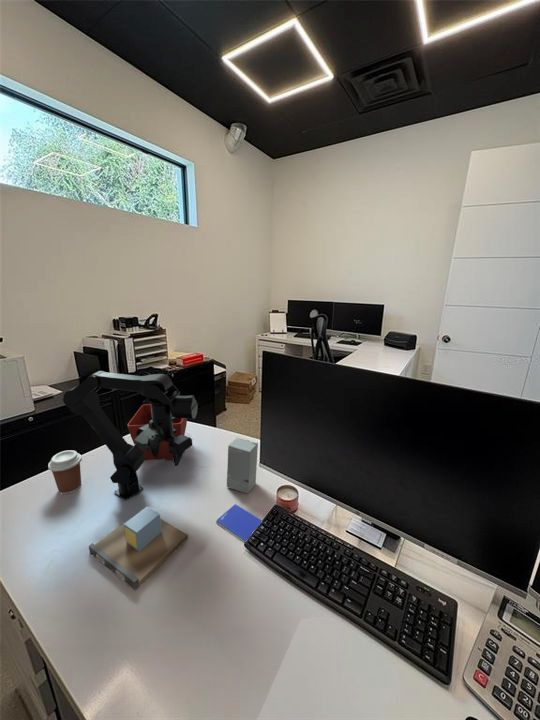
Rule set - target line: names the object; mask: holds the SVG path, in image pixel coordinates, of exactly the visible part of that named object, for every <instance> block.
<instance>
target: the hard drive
mask: <svg viewBox="0 0 540 720" xmlns="http://www.w3.org/2000/svg"><path fill="white" fill-rule="evenodd" d="M261 521H263V520H262V519H261V518H258V516H255V515H254V513H253V514H252V513H251V512H249V511H248V510H246V509H244V508H243V507H241V506H240V505H238V504H236V503H234V504H233V505H232V506H231V507H230V508H229V509H227V510H226V511H225V512H224V513H223V514H222V515H221V516H220V517H218V518H217V519H216V521H215V522H216V524H217V525H219V526H221V528H223V530H224V529H225V530H226V531H227V532H228V533H230V534H231V535H234V536H235V537H236V538H237V539H238V540H240V539H241V540H240V541H242V542H243V543H244V542H245V541H246V540H247V539H248V538H249V537H250V535H251V534H252V532H253V531H254V530H255V529H256V528H257V527H258V526H259V524H260V523H261Z"/></svg>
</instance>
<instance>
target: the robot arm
mask: <svg viewBox="0 0 540 720" xmlns="http://www.w3.org/2000/svg"><path fill="white" fill-rule="evenodd" d="M101 388H103V389H112V390H119V391H128V392H136V393H139V394H140V395H142V396H143V397H146V398H145V400H143V401H142V405H144V404H151V413H152V420H150V421H149V424H147V425H145V426H143V427H140V428H139V429H138V430H137V437H136V438H135V441H136V443H137V444H135V445H134V444H133V445H132V444H130V443H128V442H127V440H126V439H125V438H124V437H123V436H122V434H121V433H120V432H119V430H118V429H117V427H115V425H114V423H113V422H112V421H111V420H110V418H109V416H108V415H107V414H106V413H105V412H104V410H103V408H102V407H101V406H100V405H101V403H100V396H99V395H98V393H97V392H98V391H99V390H100V389H101ZM167 393H169V394H167ZM166 394H167V395H166ZM180 394H181V391H180V390H179V389H178V387H176V386H175V385H174V383H173V381H172V379H171V377H169V375H168V374H164V373H156V374H155V373H154V374H147V375H142V376H141V375H133V374H125V373H116V372H115V373H114V372H108V371H107V372H106V371H104V370H98V371H96V372H94V373H92V374H90V375H89V376H88V377H87V378H85V380H83V381H82V382H81V383H80V384H79V385H76V386H75V387H73V388H71V389H69V390H66V392H65V393H64V394H63V398H62V402H63V404H64V405H65V406H66V407H67V408H68V409H69V410H70V411H71V412H73V413H74V414H76V415H78V416H81V417H83V418H84V419H85V420H86V421H87V423H88V424H89V425H90V427H91V428H92V429H93V430H94V432H95V433H96V435H98V437H99V439H100V440H101V441H102V442H103V444H104V445H105V446H106V447H107V449H108V450H109V451H110V452H111V454H112V461H113V466H114V468H115V469H116V470H115V471H114V472H113V473H112V474H111V476H109V479H110V480H111V483H112V484H117V487H118V488H117V489H115V491H114V492H113V493H114V494H115V496H116V495H117V496H118V497H120V498H122V499H123V500H125V501H127V500H129V499H130V498H132V497H134V496H135V495H137V494H138V493H140V491H143V489H144V486H143V485H141V484H139V477H138V470H139V469H140V468H141V467H142V465H143V464H144V463H145V461H146V460H145V456H144V452H143V451H142V450H141V449H140V448H142V449H144V450H145V451H150V450H151V451H152V453H153V455H154V457H155V458H156V457H158V453H159V446H160V443H161V442H162V441H167V442H169V445H168V448H169V450H170V451H168V452H170V453H172V455H173V459H172V460H173V465H174V467H176V468H177V467H178V466H179V464H180V463H181V460H182V458H183V455H184V454H185V451H186V450H188V449H190V448H191V447H193V438H191V437H189V436H187V435H180V436H178V437H175V436H173V434H175V433H176V429H173V422H174V421H175V418H187V419H190V420H191V419H194V420H195V418H196V417H197V414H198V410H199V409H198V406H199V405H198V402H197V400H196V398H195V395H194V394H193V395H191V394H190V395H180Z"/></svg>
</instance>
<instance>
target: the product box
mask: <svg viewBox="0 0 540 720" xmlns="http://www.w3.org/2000/svg"><path fill="white" fill-rule="evenodd" d="M142 509H143V508H142ZM142 509H141V510H142ZM141 510H140V511H141ZM138 512H139V511H138ZM138 512H137V513H138ZM137 513H136V514H137ZM134 515H135V514H134ZM134 515H133V516H134ZM133 516H132V517H133ZM130 518H131V517H130ZM130 518H129V519H130ZM160 518H161V514H160V513H159V512H157V511H156V510H154V509H152V508H151V507H149V506H146V507H145V508H144V509H143V510H142V511H141V512H139V513H138V514H137V515H135V516H134V517H133V518H131V519H130V520H129V519H128V520H129V521H127V520H126V521H127V522H126V521H125V522H126V523H125V522H124V523H125V524H124V529H125V536H126V543H127V544H129V545H130V546H132V547H133V548H135V549H136V550H137V551H141V550H142V549H143V548H144V547H145V546H146V545H147V544H149V543H150V542H151V541H152V540H153V539H154V538H155V537H156V536H158V535H159V534H160V533H161V532H162V531H161V521H160Z"/></svg>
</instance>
